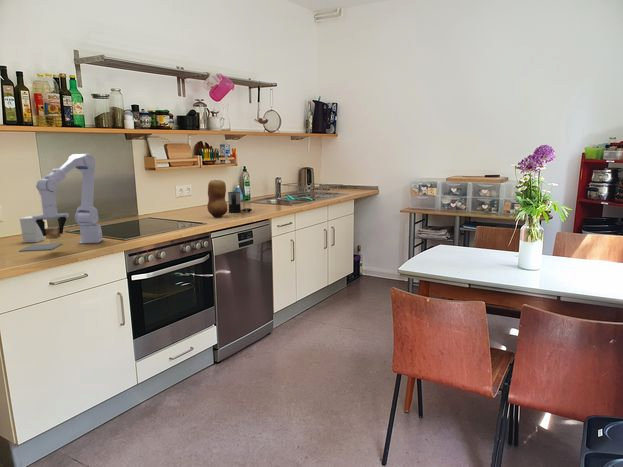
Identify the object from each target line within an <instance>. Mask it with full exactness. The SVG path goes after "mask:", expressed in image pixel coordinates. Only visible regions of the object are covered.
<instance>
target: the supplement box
mask: <svg viewBox="0 0 623 467" xmlns="http://www.w3.org/2000/svg"><path fill="white" fill-rule="evenodd" d="M32 216H33V215H32ZM32 216H30V215H29V216H24V217H21V218H19V223H20V229H21V235H22V242H23V243H24V244H25V243H38V242H43V241H44V240H45V239H46V237H45V236H43V234H42V231H41V229H40V227H39V226H38V224H37V223H36V221H32Z"/></svg>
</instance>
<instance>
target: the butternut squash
mask: <svg viewBox="0 0 623 467" xmlns="http://www.w3.org/2000/svg"><path fill="white" fill-rule="evenodd" d="M226 193H227V186H226V182H225V181H223V180H221V179H220V180H219V179H217V180H216V179H212V180H210V181H209V182H208V186H207V197H208V202H207V204H206V206H207V207H206V208H207V211H208V213H209V214H210V215H211V216H212V217H213V218H215V219H217V218H221V217H223V216H224V215H225V214H227V212H228V211H229V208H228V204H227V201H226V195H227V194H226Z"/></svg>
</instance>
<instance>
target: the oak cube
mask: <svg viewBox="0 0 623 467" xmlns="http://www.w3.org/2000/svg"><path fill="white" fill-rule="evenodd" d="M45 232H46V236H45V239H46V240H55V239H58V238H60V237H62V236H61V234H60V228H59V226H49V227H45Z"/></svg>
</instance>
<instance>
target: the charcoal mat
mask: <svg viewBox="0 0 623 467" xmlns="http://www.w3.org/2000/svg"><path fill="white" fill-rule="evenodd" d="M62 245H63V242H56V243H34V244H30V245H28V246H26V247H23V248H22V249H19V250H18V252H19V253H20V252H38V251H39V252H40V251H53V250H54V249H56V248H58V247H60V246H62Z"/></svg>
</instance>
